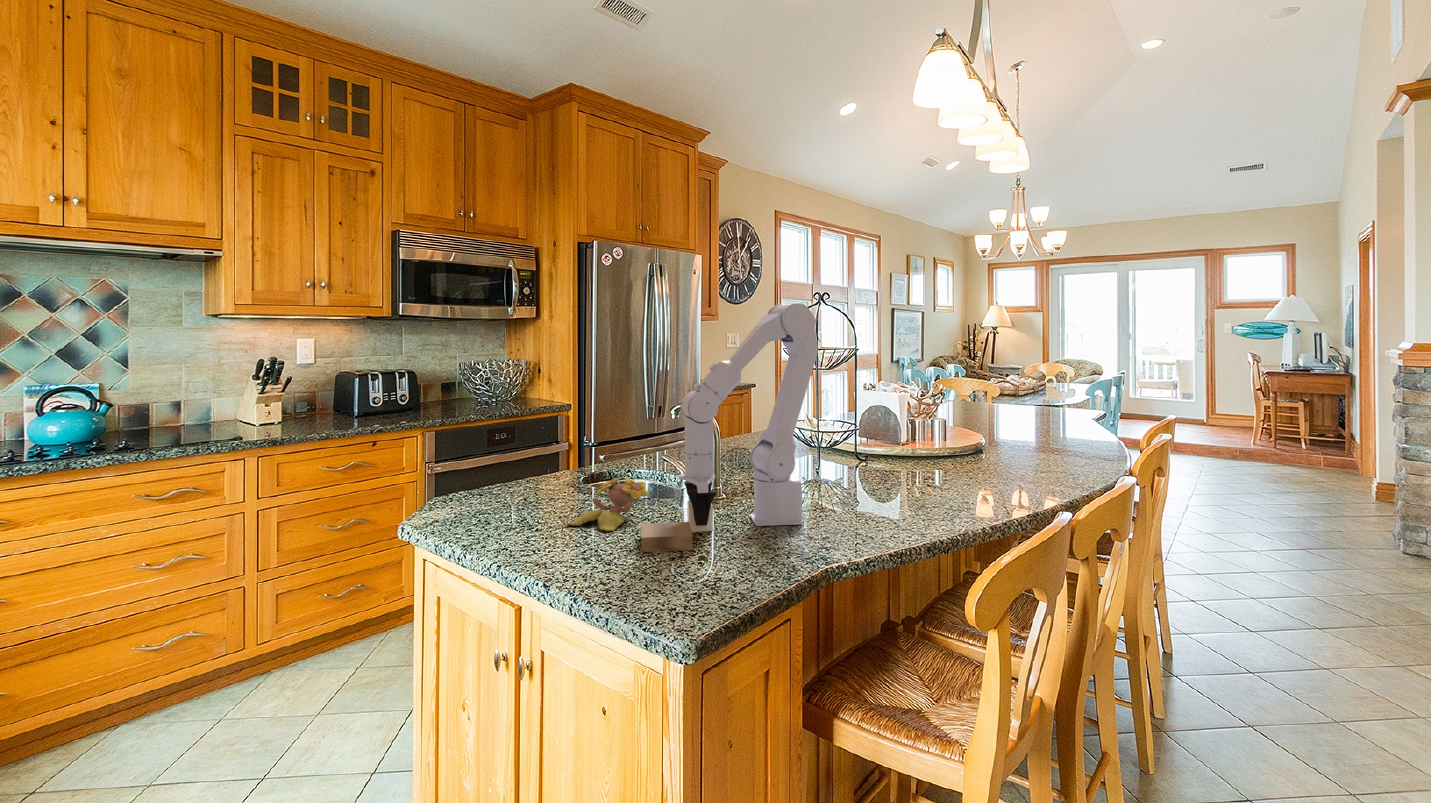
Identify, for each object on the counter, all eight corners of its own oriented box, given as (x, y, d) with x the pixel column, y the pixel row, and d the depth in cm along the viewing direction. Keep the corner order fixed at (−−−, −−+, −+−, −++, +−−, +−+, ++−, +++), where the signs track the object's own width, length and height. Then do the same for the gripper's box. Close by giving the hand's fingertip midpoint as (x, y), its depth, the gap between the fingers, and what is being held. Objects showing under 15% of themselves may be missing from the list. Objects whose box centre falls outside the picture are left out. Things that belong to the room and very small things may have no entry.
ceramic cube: (710, 524, 138) (710, 500, 138) (712, 531, 133) (712, 506, 133) (687, 525, 138) (687, 501, 137) (689, 532, 133) (689, 506, 132)
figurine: (561, 523, 137) (591, 460, 145) (583, 544, 144) (611, 483, 152) (611, 531, 132) (640, 465, 140) (632, 553, 138) (659, 489, 146)
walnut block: (688, 537, 131) (688, 521, 130) (692, 552, 122) (692, 535, 122) (641, 539, 130) (641, 523, 130) (641, 554, 121) (641, 537, 121)
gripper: (676, 447, 141) (677, 512, 142) (681, 460, 126) (681, 532, 128) (711, 446, 141) (711, 510, 143) (719, 458, 127) (719, 530, 128)
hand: (700, 520), depth 135 cm, fingers open, 6 cm apart
